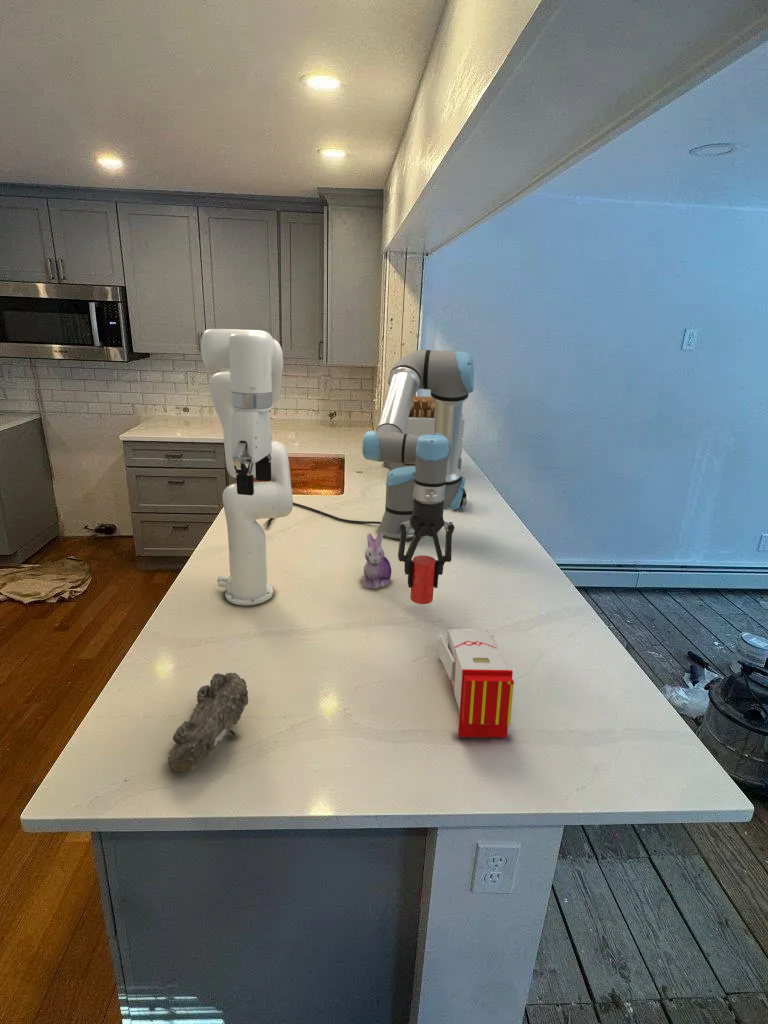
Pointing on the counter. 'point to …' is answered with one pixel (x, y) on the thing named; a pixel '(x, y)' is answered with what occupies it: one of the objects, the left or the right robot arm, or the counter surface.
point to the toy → (478, 682)
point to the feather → (269, 522)
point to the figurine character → (463, 500)
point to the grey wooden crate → (423, 425)
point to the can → (423, 579)
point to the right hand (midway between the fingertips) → (422, 585)
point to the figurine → (376, 564)
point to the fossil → (209, 721)
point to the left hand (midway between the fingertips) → (255, 487)
